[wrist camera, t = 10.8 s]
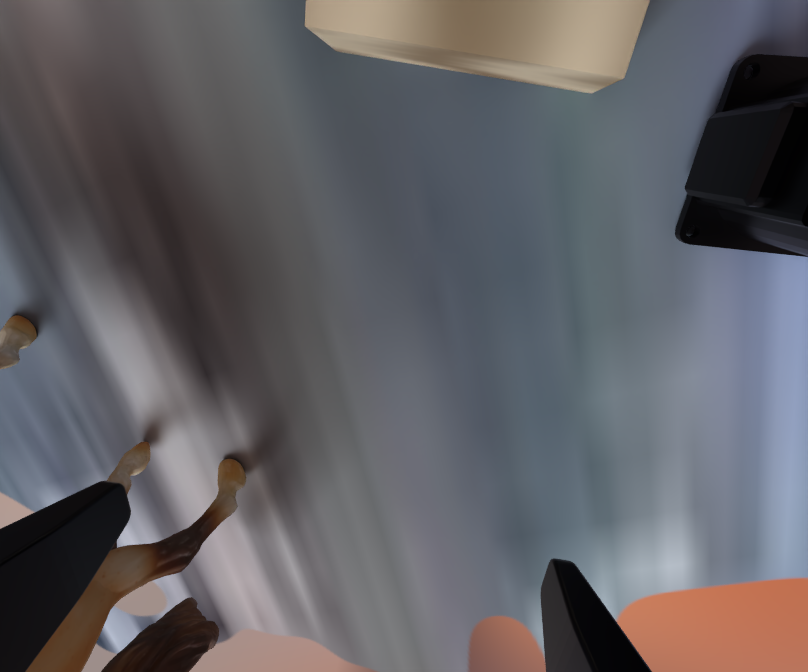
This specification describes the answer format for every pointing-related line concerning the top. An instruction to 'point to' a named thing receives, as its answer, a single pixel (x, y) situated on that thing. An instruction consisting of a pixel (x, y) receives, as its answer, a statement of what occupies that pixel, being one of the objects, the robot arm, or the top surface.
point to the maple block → (490, 36)
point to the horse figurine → (134, 571)
